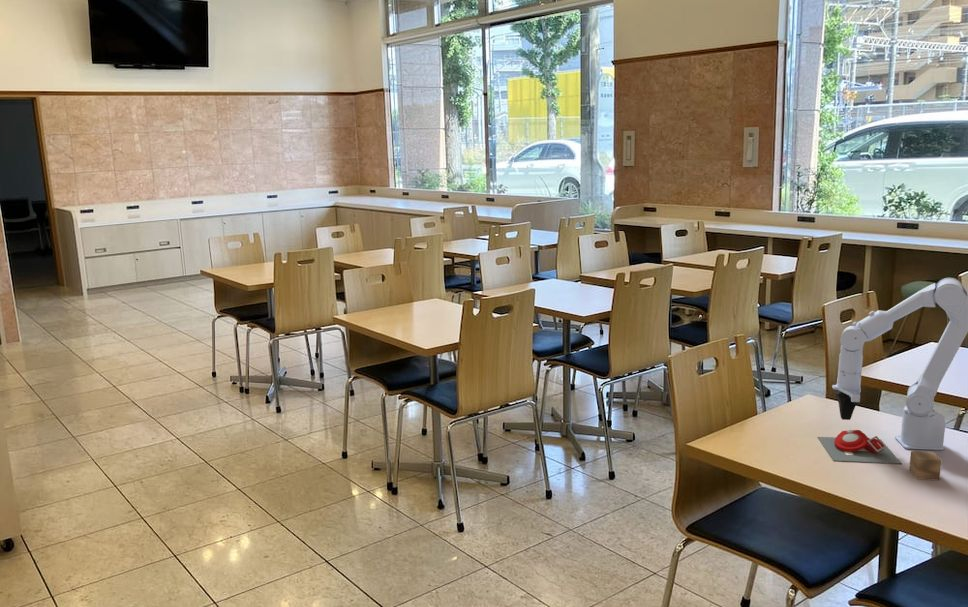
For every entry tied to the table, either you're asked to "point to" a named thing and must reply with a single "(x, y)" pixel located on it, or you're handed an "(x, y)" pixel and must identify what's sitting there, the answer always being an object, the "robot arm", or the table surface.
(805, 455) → the table surface
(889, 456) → the letter mat
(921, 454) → the walnut cube
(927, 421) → the robot arm
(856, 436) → the tracker holder
